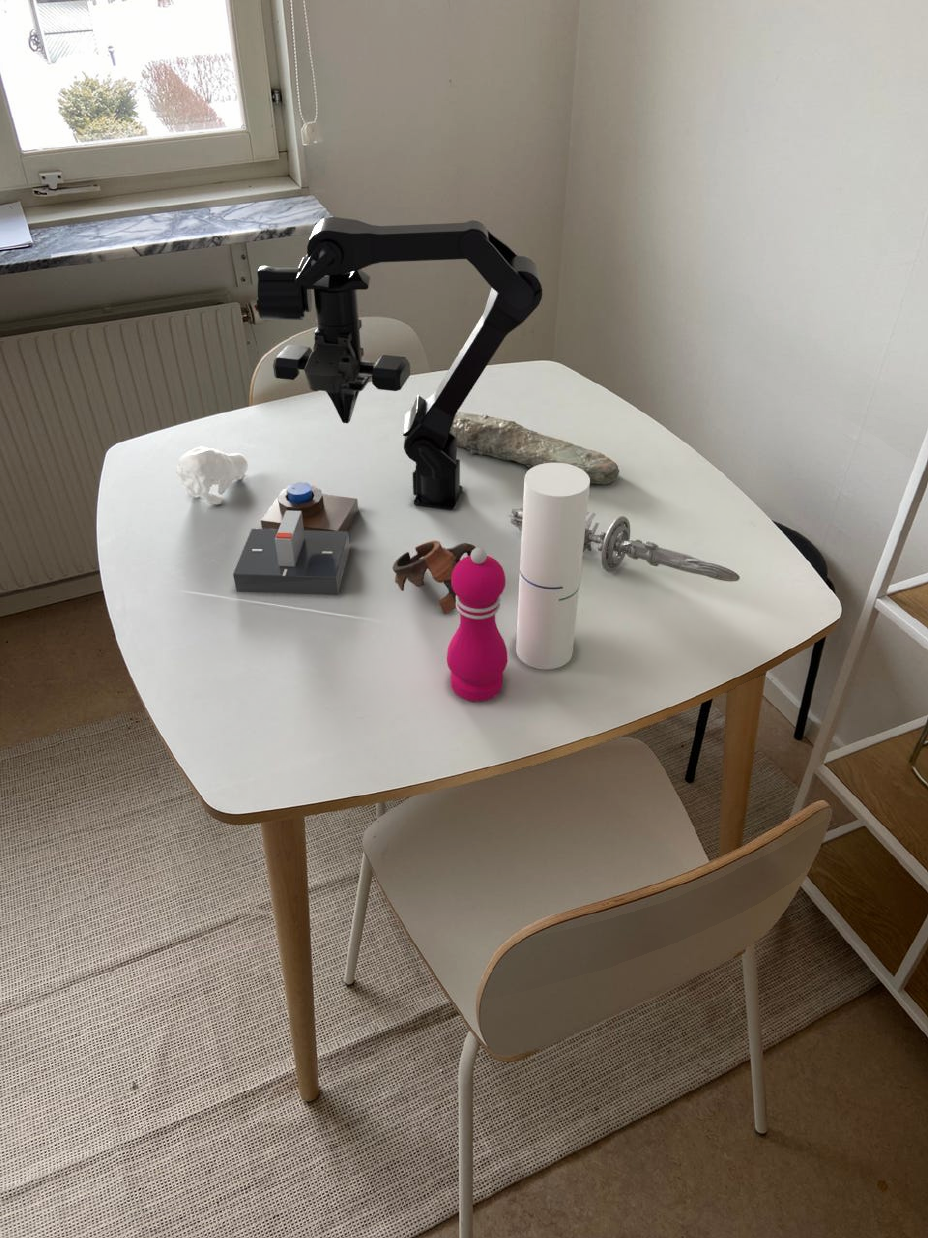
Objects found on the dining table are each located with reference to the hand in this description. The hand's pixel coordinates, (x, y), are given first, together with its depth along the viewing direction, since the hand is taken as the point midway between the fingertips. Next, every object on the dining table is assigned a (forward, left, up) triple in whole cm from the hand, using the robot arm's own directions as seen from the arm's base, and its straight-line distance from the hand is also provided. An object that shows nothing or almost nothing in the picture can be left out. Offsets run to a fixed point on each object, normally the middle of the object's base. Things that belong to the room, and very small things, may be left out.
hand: (346, 422), depth 136 cm
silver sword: (-42, +9, -13) cm, 45 cm away
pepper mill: (-28, +37, -13) cm, 48 cm away
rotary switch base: (+2, +20, -13) cm, 24 cm away
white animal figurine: (+21, +3, -13) cm, 25 cm away
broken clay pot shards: (-19, +20, -13) cm, 31 cm away
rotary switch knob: (+2, +20, -10) cm, 22 cm away
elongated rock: (-23, -19, -13) cm, 33 cm away
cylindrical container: (-35, +29, -13) cm, 47 cm away
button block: (+4, +8, -13) cm, 16 cm away
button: (+5, +7, -9) cm, 13 cm away
